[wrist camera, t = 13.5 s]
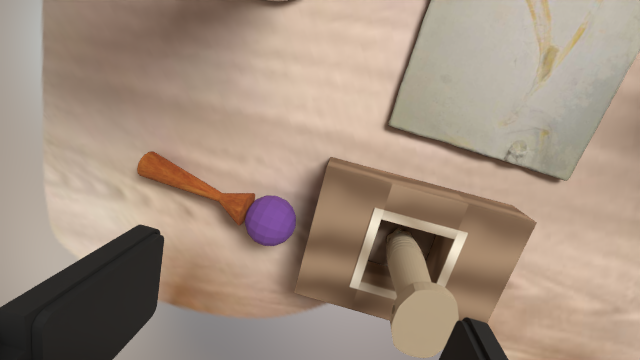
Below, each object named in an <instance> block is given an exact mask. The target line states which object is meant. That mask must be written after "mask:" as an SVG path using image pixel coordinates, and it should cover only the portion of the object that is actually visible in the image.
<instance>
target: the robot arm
mask: <svg viewBox="0 0 640 360" xmlns="http://www.w3.org/2000/svg"><path fill="white" fill-rule="evenodd" d="M268 1H286V0H268ZM163 246H164V237H163V236H162V235H160V231H159V230H158V229H155V228H151V227H148V226H144V225H138V226H136V227H134V228H132V229H131V230H129V231H127V232H126V233H124V234H122V235H121V236H119V237H117V238H116V239H114V240H112V241H111V242H109V243H107V244H106V245H104V246H102V247H101V248H99V249H97V250H95V251H94V252H92V253H90V254H89V255H87V256H85V257H84V258H82V259H80V260H79V261H77V262H75V263H74V264H72V265H70V266H69V267H67V268H65V269H64V270H62V271H60V272H59V273H57V274H55V275H54V276H52V277H50V278H49V279H47V280H45V281H44V282H42V283H40V284H39V285H37V286H35V287H34V288H32V289H31V290H29V291H27V292H25V293H24V294H22V295H21V296H18V297H17V298H15V299H13V300H12V301H10V302H8V303H7V304H5V305H3V306H2V307H0V360H112V359H114V357H115V356H116V355H117V354H118V353H119V352H120V351H121V350H122V349H123V348H124V346H125V345H126V344H127V343H128V342H129V341H130V340H131V339H132V338H133V337H134V336H135V335H136V334H137V332H138V331H139V330H140V329H141V328H142V327H143V326H144V325H145V324H146V323H147V321H148V320H149V319H150V318H151V317H152V316H153V314H154V312H155V310H156V307H157V300H158V291H159V282H160V273H161V264H162V255H163ZM439 360H508V358H507V356H506V355H505V353H504V351H503V349H502V348H501V346H500V344H499V343H498V341H497V339H496V337H495V336H494V334H493V332H492V330H491V329H490V327H489V325H488V324H487V323H485V322H482V321H479V320H475V319H472V318H468V317H465V318H464V319H463V320H462V321H461V320H458V321H457V322H456V324H455V326H454V328H453V330H452V332H451V334H450V337H449V339H448V341H447V343H446V345H445V347H444V350H443V352H442V354H441V356H440V358H439Z"/></svg>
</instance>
